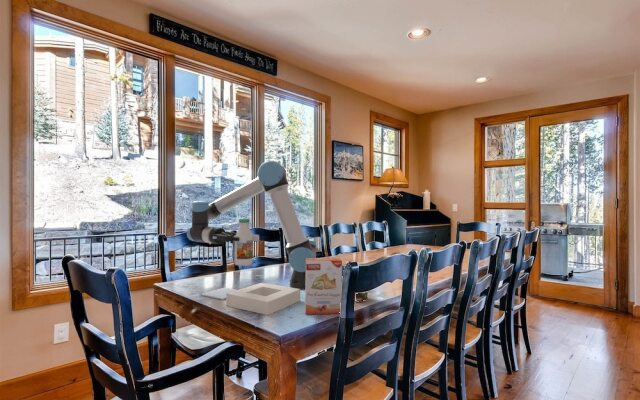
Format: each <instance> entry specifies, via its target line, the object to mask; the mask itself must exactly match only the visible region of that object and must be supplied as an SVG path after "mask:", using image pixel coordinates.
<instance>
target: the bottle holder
mask: <svg viewBox="0 0 640 400" xmlns="http://www.w3.org/2000/svg"><path fill="white" fill-rule="evenodd" d="M235 290H236V291H233V292H230V293H226V299H225V301H226V303H225V305H226V307H231V308H235V309H240V310H245V311H248V312H251V313H252V312H253V313H258V314H261V315H266V316H269V315H271V314H273V313H275V312H278V311H281V310H283V309H286V307H287V308H288V307H290V306H292V305H293V304H297V302H300V301H301V289H297V288H293V287H291V286H284V285H283V286H282V285H278V284H271V283H266V282H259V283H256V284H252V285H249V286H246V287H243V288H240V289H235Z"/></svg>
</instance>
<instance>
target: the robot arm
mask: <svg viewBox="0 0 640 400" xmlns="http://www.w3.org/2000/svg"><path fill="white" fill-rule="evenodd" d="M289 184H290V183H289V182H288V179H287V171H286V169H285V167H284V166H283V165H281V164H280V163H279V162H277V161H275V160H268V161H267V160H266V161H264V162H262V163H261V165H260V166H259V167H258V169H257V177H256V178H254V179H253V180H250V181H248V182H247V183H245V184H242V186H240V187H239V186H238V187H237V188H236V189H234V190H233V191H231V192H229V193H227V194H224V195H223V196H222V197H220V198H218V199H216V200H215V201H212V202H211V203H210V202H208V201H206V200H205V201H197V200H195V201H193V202H192V206H191V226H189V227H188V228H187V231H186V236H187V239H188V240H189V241H192V242H196V243H207V244H209V245H211V244H215V245H221V244H223V243H224V242H226V243H230V244H234V243H235V242H240V243H247V236H236V233H237V232H232V231H231V232H230V231H226V229H224V228H222V227H218V226H217V227H216V226H209V220H212V221H213V220H215V219H217V218H218V217H219V216H221V215H223V214H225V213H226V212H228V211H229V210H232V209H233V208H235V207H237V206H239V205H240V204H242V203H244V202H246V201H249V200H250V199H252V198H254V197H255V196H257V195H259V194H260V193H262V192H265V194H267V195H268V196H270V199H271V201H272V205H273V208H274V209H275V213H276V216H277V218H278V220H279V224H280V227H281V230H282V232H283V235H284V237H285V241H286V245H285V250H286V253H287V255H288V263H289V265H290V267H291V269H292V273H291V277H290V279H289V287H290V288H296V289H300V290H305V280H306V258H317V242H316V241H315V240H310V239H309V238H308V237H306V236H305V235H304V232H303V229H302V226H301V224H300V220H299V219H298V215H297V212H296V209H295V207H294V205H293V201H292V200H291V199H292V198H291V196H290V194H289V191H288V187H290V186H289ZM252 237H253V242H259V241H260V234H253V233H252Z"/></svg>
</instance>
